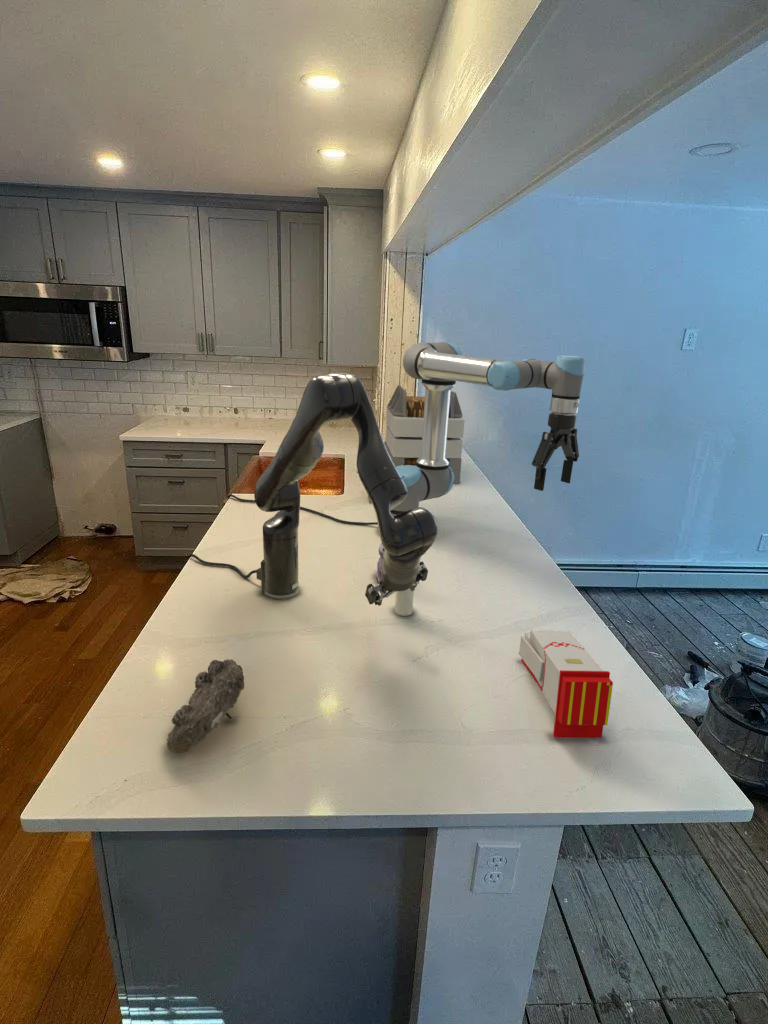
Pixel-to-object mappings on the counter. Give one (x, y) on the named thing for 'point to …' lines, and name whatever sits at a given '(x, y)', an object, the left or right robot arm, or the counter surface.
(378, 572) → the figurine
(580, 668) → the toy
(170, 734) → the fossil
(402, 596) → the jar
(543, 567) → the counter surface
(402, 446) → the tiered storage shelf
